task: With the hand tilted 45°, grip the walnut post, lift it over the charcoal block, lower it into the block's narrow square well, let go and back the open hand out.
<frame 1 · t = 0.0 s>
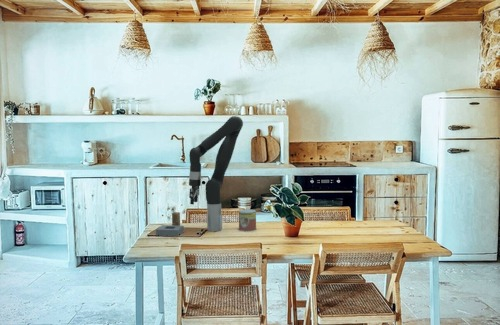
hand: (193, 203, 287), 17 cm above the table, tool pointing down, fingers open, 8 cm apart
charcoal well block: (170, 233, 276), on the table
canned food: (247, 229, 287), on the table
walnut post: (176, 229, 288), on the table
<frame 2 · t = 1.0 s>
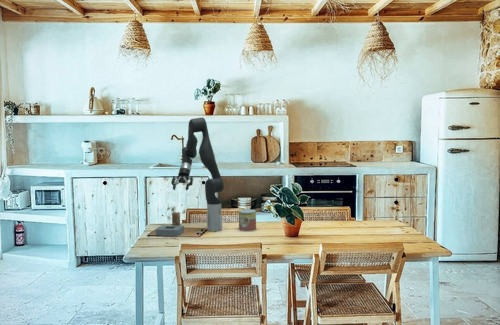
hand: (180, 189, 296), 25 cm above the table, tool tilted 45°, fingers open, 8 cm apart
nothing on the table moved.
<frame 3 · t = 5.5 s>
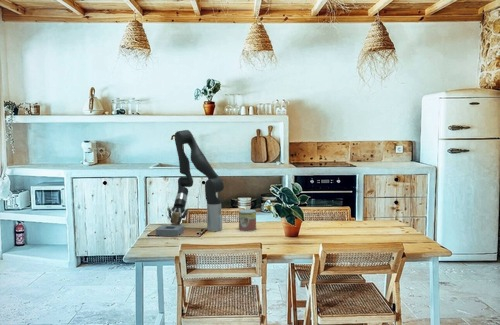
hand: (175, 223, 286), 5 cm above the table, tool tilted 45°, fingers closed on walnut post, 4 cm apart
walnut post: (176, 229, 288), on the table, touching gripper
everything else where it was.
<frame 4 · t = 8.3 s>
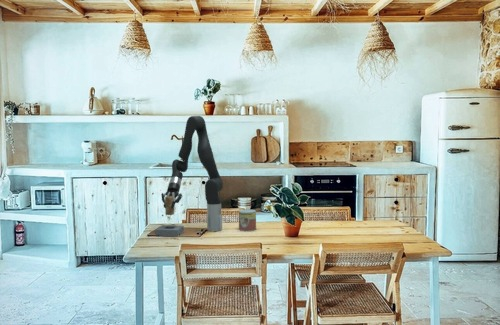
hand: (168, 207, 274), 17 cm above the table, tool tilted 45°, fingers closed on walnut post, 4 cm apart
walnut post: (169, 214, 276), point 12 cm above the table, touching gripper
everything else where it was.
when the fingers open (7 cm above the table, at t = 11.1 s): walnut post drops 2 cm, resting in charcoal well block.
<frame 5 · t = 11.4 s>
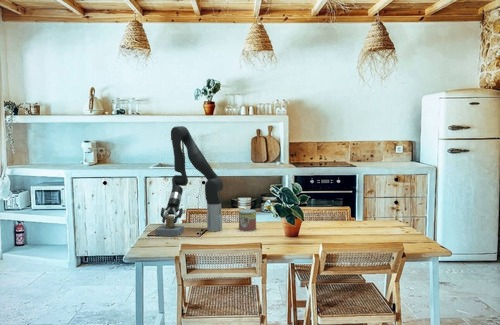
hand: (169, 222, 274), 7 cm above the table, tool tilted 45°, fingers open, 6 cm apart
walnut post: (170, 233, 277), resting in charcoal well block
everything else where it was.
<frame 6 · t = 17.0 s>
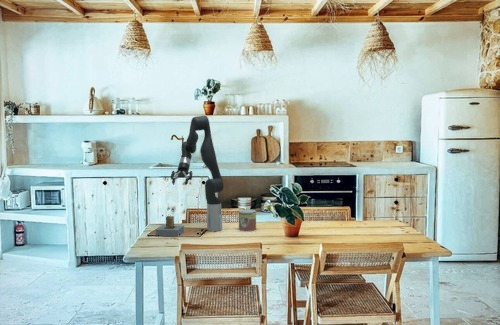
hand: (179, 184, 294), 29 cm above the table, tool tilted 45°, fingers open, 8 cm apart
nothing on the table moved.
at the end: walnut post 0.1 cm off-centre on the charcoal well block, point 0.0 cm above the charcoal well block's base; walnut post tilted 0°; the gripper is holding nothing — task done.
